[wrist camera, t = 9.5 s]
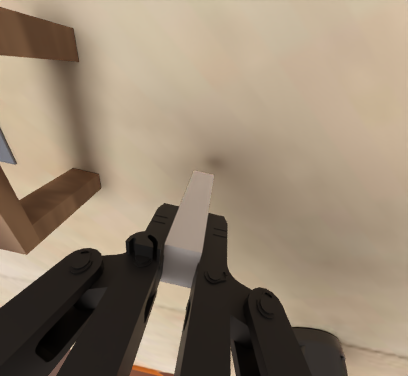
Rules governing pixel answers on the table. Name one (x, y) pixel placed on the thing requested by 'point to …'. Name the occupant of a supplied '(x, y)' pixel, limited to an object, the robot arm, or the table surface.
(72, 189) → the bridge
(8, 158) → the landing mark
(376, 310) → the table surface
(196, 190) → the robot arm
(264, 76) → the table surface
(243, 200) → the table surface
